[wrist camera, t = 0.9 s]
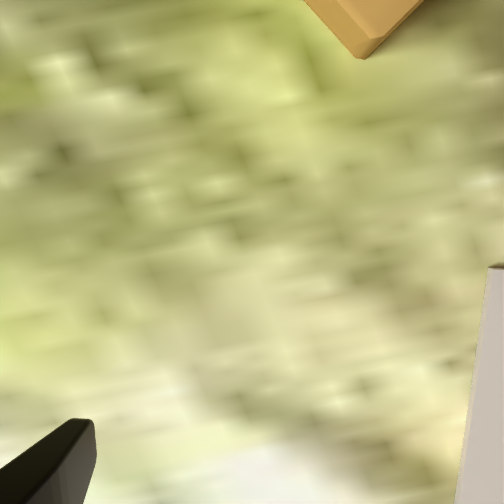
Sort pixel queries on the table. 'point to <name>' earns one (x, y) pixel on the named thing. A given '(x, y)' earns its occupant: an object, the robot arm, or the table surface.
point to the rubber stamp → (362, 21)
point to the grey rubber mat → (486, 406)
